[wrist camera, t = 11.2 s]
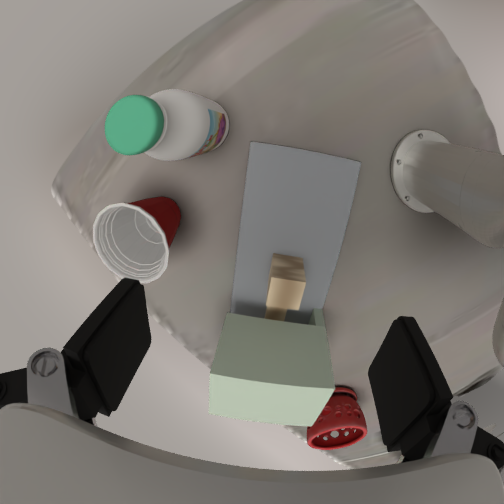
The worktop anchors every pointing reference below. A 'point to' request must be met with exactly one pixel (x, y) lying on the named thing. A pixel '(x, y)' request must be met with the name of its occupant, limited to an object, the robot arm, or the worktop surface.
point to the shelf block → (271, 370)
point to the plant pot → (338, 422)
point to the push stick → (284, 286)
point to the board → (291, 223)
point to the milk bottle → (166, 125)
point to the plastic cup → (137, 237)
